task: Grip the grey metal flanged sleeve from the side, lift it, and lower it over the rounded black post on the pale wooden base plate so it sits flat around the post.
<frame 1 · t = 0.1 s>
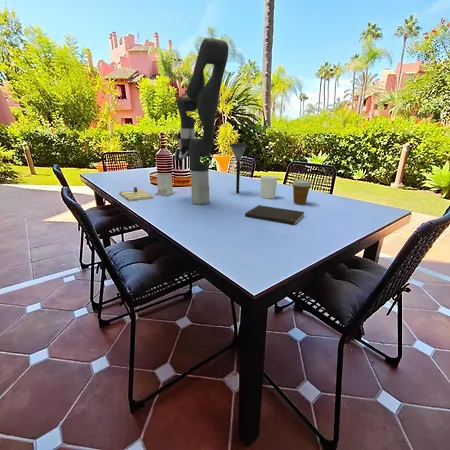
hand: (187, 167, 152), 17 cm above the table, tool pointing down, fingers open, 8 cm apart
base plate: (136, 196, 160), on the table
white paper cup: (267, 197, 161), on the table
hardcover book: (274, 217, 125), on the table
solar garden light: (237, 193, 170), on the table
disposable coffee cup: (299, 203, 148), on the table
sleeve: (165, 193, 167), on the table
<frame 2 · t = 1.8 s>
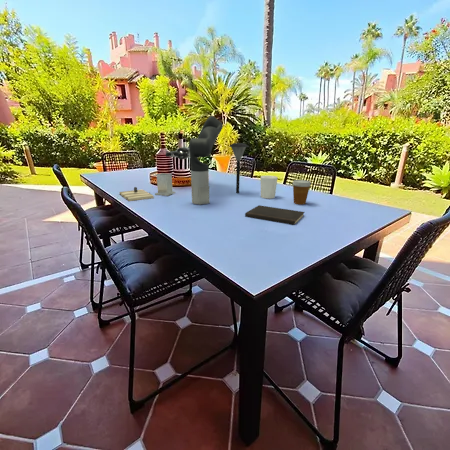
hand: (172, 155, 169), 22 cm above the table, tool horizontal, fingers open, 8 cm apart
nothing on the table moved.
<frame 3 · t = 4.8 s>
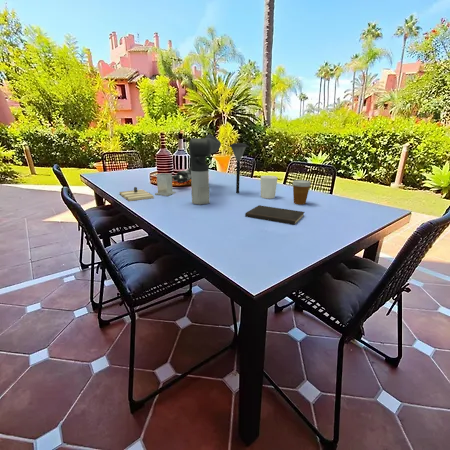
hand: (171, 180, 172), 7 cm above the table, tool horizontal, fingers open, 8 cm apart
nothing on the table moved.
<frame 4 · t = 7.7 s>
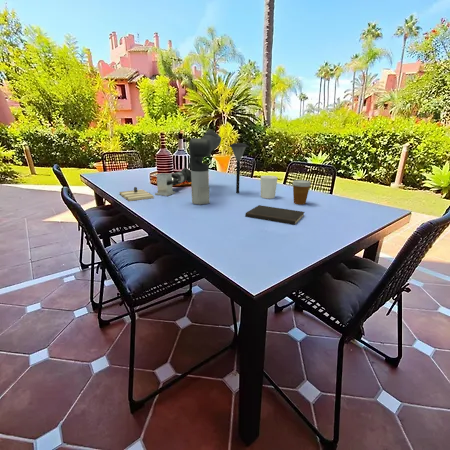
hand: (162, 183, 162), 7 cm above the table, tool horizontal, fingers closed on sleeve, 6 cm apart
sleeve: (165, 193, 167), on the table, touching gripper
everything else where it was.
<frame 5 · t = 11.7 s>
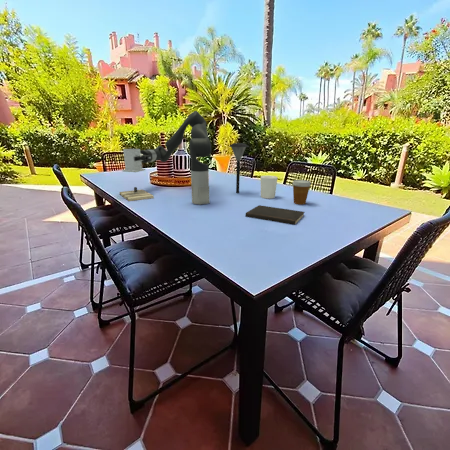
hand: (130, 158, 151), 22 cm above the table, tool horizontal, fingers closed on sleeve, 6 cm apart
sleeve: (134, 170, 155), point 15 cm above the table, touching gripper
everything else where it was.
when the fingers open (10 cm above the table, at t = 15.9 s): sleeve drops 1 cm, resting on base plate.
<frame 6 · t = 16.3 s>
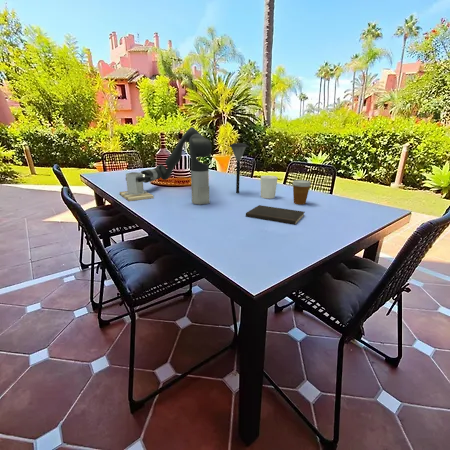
hand: (132, 179, 155), 10 cm above the table, tool horizontal, fingers open, 8 cm apart
sleeve: (136, 193, 159), point 1 cm above the table, touching base plate
everything else where it was.
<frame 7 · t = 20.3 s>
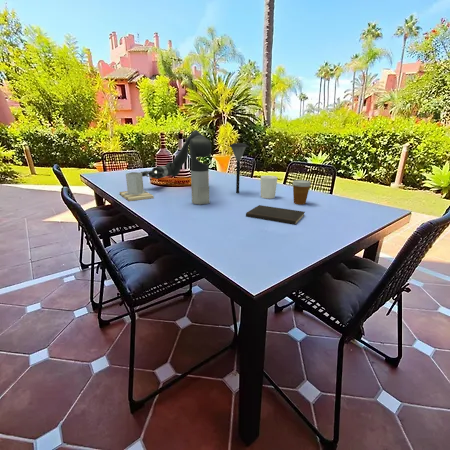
hand: (145, 175, 166), 10 cm above the table, tool horizontal, fingers open, 8 cm apart
nothing on the table moved.
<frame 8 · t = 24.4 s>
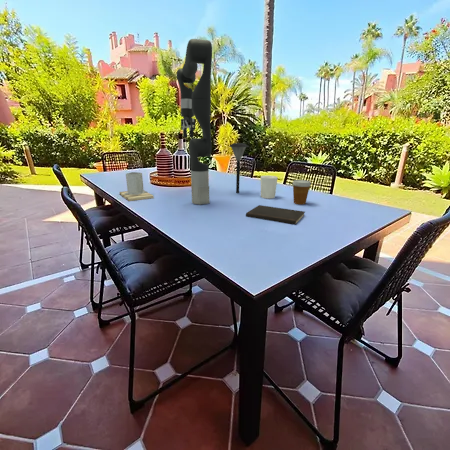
hand: (188, 137, 162), 33 cm above the table, tool pointing down, fingers open, 8 cm apart
nothing on the table moved.
at the end: sleeve 0.1 cm from the base plate (horizontally); sleeve point 1.5 cm above the table; sleeve tilted 0° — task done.
